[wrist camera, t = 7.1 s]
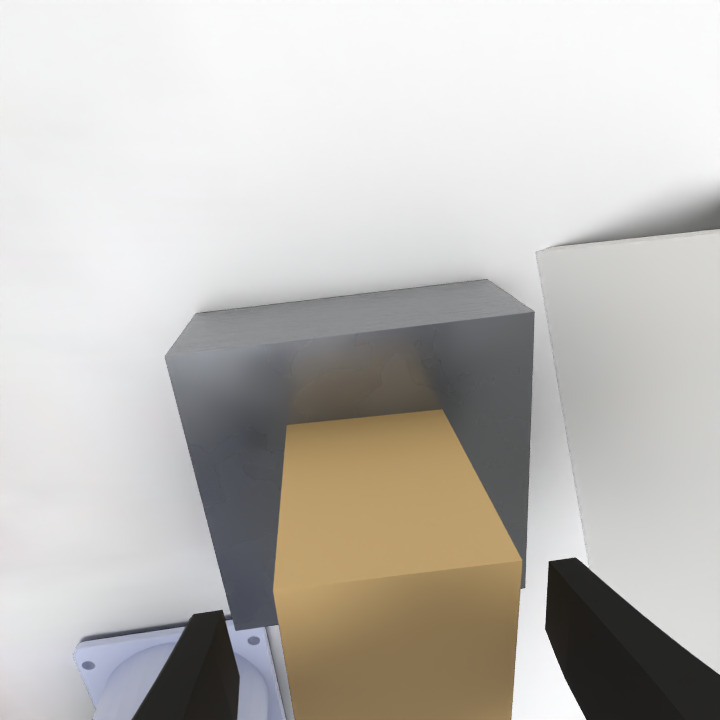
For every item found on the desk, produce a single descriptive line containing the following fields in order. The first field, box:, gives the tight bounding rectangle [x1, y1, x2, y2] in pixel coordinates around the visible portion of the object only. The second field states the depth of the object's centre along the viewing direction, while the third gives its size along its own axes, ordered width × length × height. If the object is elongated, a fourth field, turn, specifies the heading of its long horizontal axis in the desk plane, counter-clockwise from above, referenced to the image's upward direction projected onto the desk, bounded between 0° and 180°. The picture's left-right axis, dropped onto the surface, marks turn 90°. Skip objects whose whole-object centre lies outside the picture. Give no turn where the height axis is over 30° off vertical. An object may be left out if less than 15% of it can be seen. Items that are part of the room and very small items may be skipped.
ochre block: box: [273, 409, 522, 720], centre depth 13 cm, size 4×4×6 cm
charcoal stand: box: [165, 279, 535, 631], centre depth 17 cm, size 10×10×4 cm
